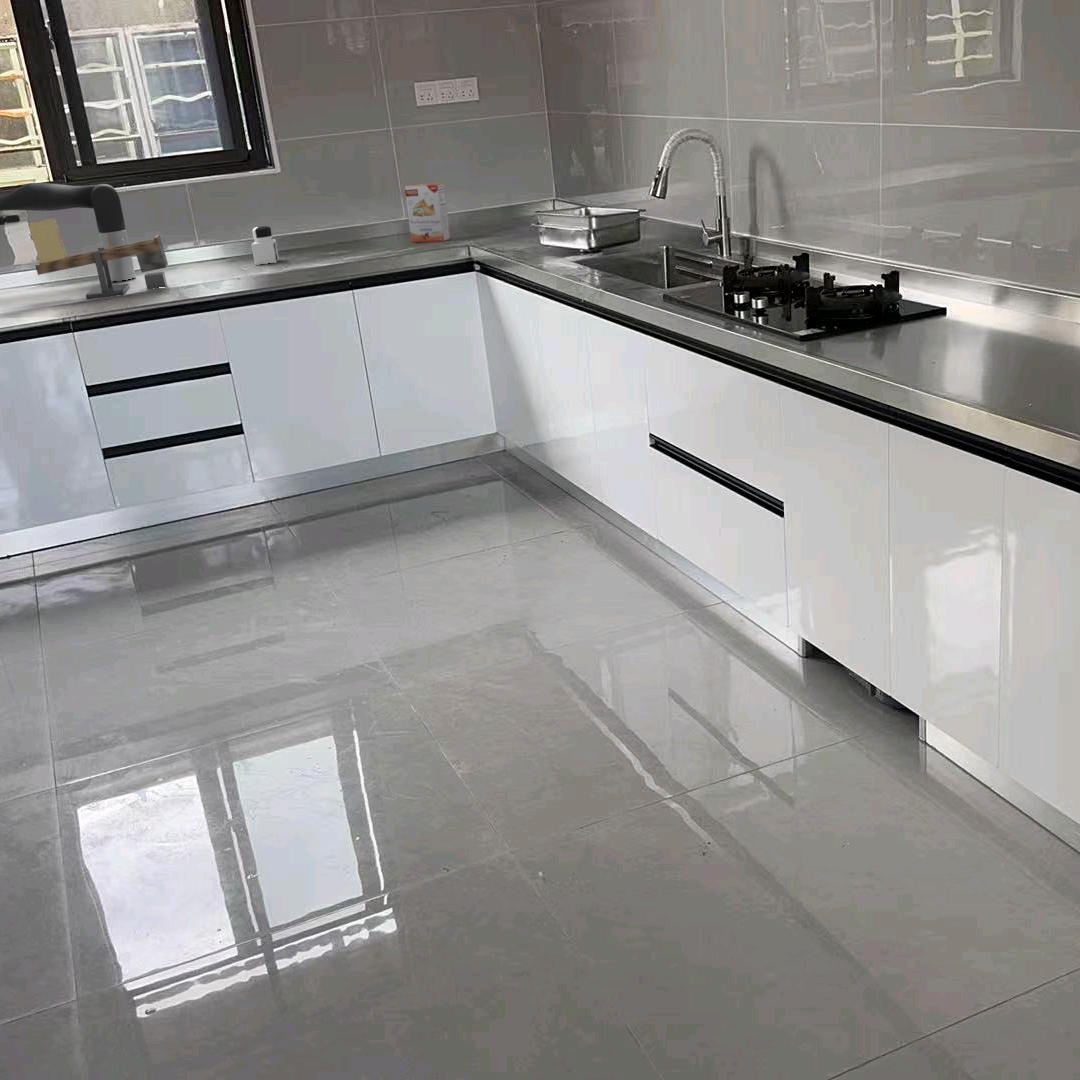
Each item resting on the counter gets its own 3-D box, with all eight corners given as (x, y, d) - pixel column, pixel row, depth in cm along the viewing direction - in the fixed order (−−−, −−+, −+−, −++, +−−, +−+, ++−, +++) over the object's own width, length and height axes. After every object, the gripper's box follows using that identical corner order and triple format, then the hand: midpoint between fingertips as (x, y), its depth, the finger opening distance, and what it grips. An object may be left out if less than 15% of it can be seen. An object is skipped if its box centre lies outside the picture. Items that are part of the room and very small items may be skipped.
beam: (168, 264, 412) (159, 234, 408) (165, 267, 403) (156, 237, 400) (48, 289, 407) (39, 259, 403) (44, 293, 399) (34, 262, 395)
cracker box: (410, 243, 458) (403, 186, 451) (418, 240, 464) (411, 184, 456) (443, 241, 453) (436, 184, 445) (451, 239, 458) (444, 182, 450)
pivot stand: (168, 283, 417) (159, 240, 412) (164, 290, 402) (155, 245, 397) (93, 292, 413) (83, 249, 408) (86, 299, 399) (76, 255, 393)
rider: (69, 260, 403) (55, 217, 398) (66, 262, 399) (52, 219, 393) (44, 265, 402) (30, 222, 397) (41, 267, 398) (27, 224, 392)
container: (279, 260, 447) (273, 224, 442) (275, 263, 440) (269, 226, 435) (258, 262, 447) (252, 226, 442) (254, 265, 440) (248, 229, 435)
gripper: (-29, 234, 398) (26, 227, 400) (-39, 238, 386) (17, 232, 388) (-35, 210, 395) (20, 204, 398) (-45, 214, 383) (12, 208, 385)
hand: (19, 218), depth 393 cm, fingers closed
